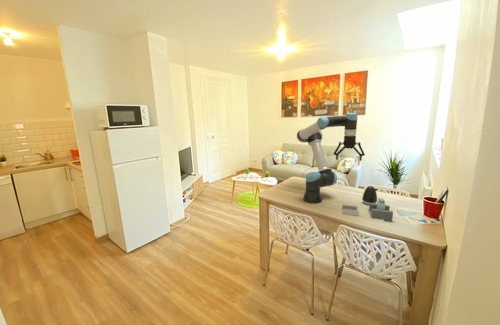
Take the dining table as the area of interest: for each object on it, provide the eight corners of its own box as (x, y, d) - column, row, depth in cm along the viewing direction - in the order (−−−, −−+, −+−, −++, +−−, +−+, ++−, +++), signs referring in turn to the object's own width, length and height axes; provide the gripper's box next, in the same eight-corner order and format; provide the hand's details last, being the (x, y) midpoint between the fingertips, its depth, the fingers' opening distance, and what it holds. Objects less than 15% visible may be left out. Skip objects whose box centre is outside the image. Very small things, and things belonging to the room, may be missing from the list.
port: (371, 218, 141) (372, 209, 140) (368, 211, 152) (369, 202, 151) (392, 221, 137) (393, 211, 135) (387, 213, 148) (388, 204, 146)
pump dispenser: (371, 208, 156) (373, 189, 153) (359, 203, 165) (360, 185, 162) (379, 205, 161) (381, 186, 157) (367, 200, 170) (368, 183, 166)
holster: (342, 215, 148) (343, 210, 147) (342, 209, 157) (342, 204, 156) (358, 217, 144) (358, 212, 143) (356, 210, 153) (357, 205, 152)
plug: (377, 216, 143) (378, 200, 140) (375, 213, 147) (377, 197, 145) (383, 217, 141) (385, 201, 139) (382, 214, 146) (384, 198, 143)
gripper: (330, 136, 147) (329, 164, 151) (371, 135, 137) (368, 166, 142) (331, 134, 153) (329, 162, 158) (369, 134, 144) (366, 164, 149)
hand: (348, 164), depth 150 cm, fingers open, 13 cm apart
